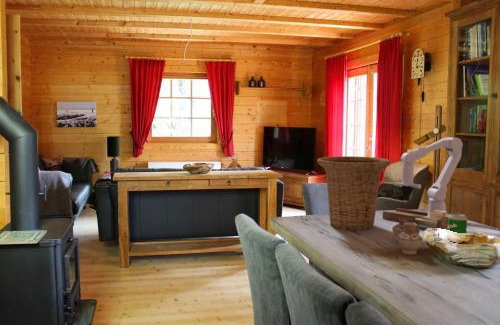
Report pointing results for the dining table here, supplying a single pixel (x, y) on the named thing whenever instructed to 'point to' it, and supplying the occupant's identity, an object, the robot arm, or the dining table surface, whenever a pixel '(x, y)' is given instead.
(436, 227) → the grey flat board
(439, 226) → the brown tray with rims
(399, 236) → the pottery
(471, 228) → the dining table surface
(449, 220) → the soda can
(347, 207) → the wicker basket
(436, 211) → the cream block
